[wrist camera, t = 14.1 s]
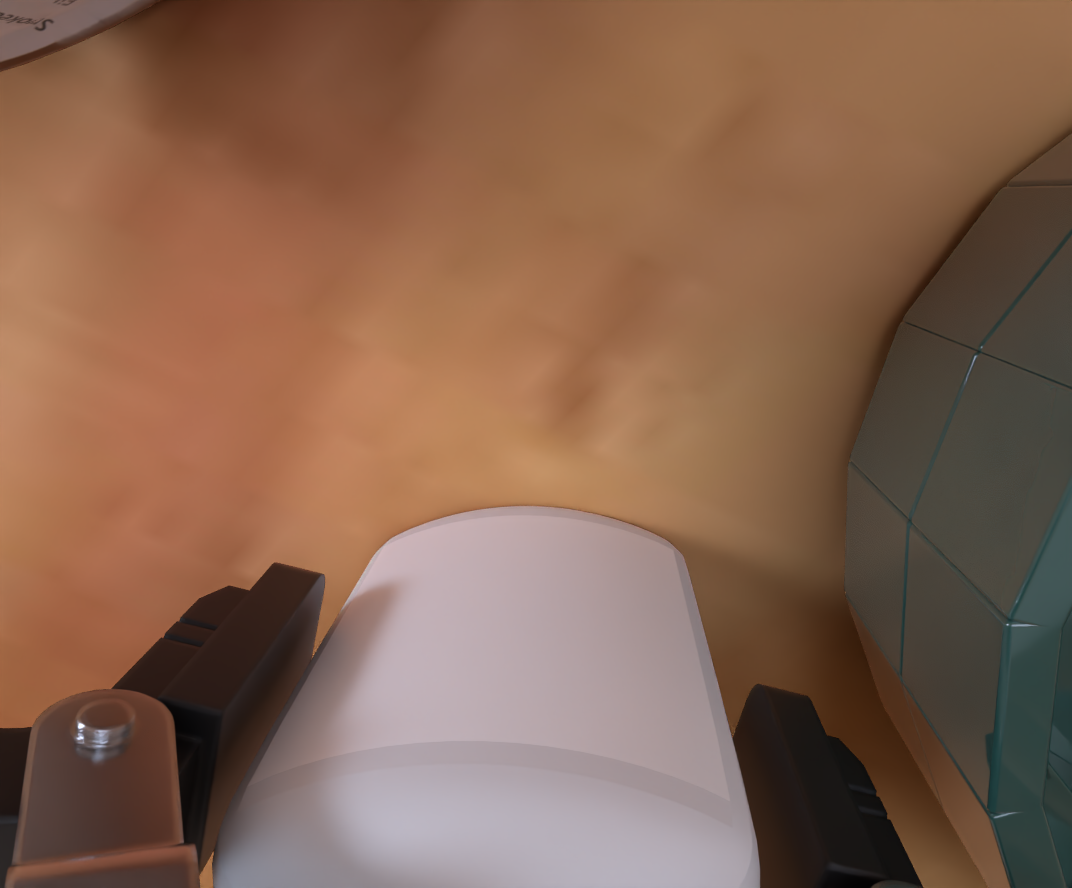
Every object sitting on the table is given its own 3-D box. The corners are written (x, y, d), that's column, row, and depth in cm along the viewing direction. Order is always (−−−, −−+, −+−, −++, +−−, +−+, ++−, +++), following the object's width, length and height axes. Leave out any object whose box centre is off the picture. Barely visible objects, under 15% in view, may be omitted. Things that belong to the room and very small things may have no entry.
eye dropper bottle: (447, 415, 15) (-70, 1220, 3) (725, 563, 15) (1162, 1732, 4) (344, 612, 16) (-301, 1713, 4) (605, 743, 16) (644, 2045, 5)
